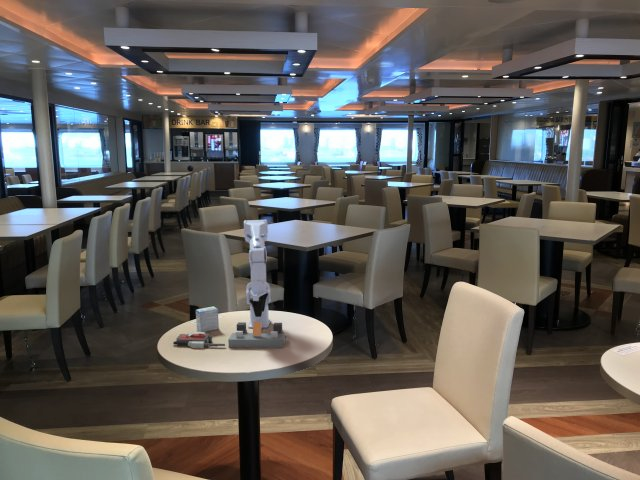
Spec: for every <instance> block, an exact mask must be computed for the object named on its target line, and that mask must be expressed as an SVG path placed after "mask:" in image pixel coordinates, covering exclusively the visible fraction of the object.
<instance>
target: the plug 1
mask: <svg viewBox="0 0 640 480" xmlns="http://www.w3.org/2000/svg"><path fill="white" fill-rule="evenodd" d="M236 331H243V333H248V329H247V322H246V321H244V322H241V321H239V322H237V324H236Z"/></svg>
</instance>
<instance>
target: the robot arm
mask: <svg viewBox="0 0 640 480" xmlns="http://www.w3.org/2000/svg"><path fill="white" fill-rule="evenodd" d="M268 226H269V225H268V220H267V219H254V220H252V219H251V220H250V219H249V220H247V219H245V220H244V221H243V234H244V240H245V242H246V243H248V244H249V250H248V261H249V268H250V282H249V283H247V285H246V286H245V288H246V291H245V293H246V304H248V305H249V312H250V313H249V315H250V317H249V318H250V320H249V321H250V323H249V325H248V326H247V327H248V328H249V329H250V328H251V329H253V322H262V329H267V328H269V326H270V324H271V321H272V320H271V319H269V304H270V303H271V301H272V300H271V299H272V298H271V297H272V296H271V295H272V293H271V286H270V284H269V282H267V263H268V262H267V260H268V256H267V255H268V254H267V248H266V246H265V245H266V244H265V242H267V240H268V233H269V231H268V230H269V229H268V228H269V227H268Z"/></svg>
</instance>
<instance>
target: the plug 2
mask: <svg viewBox="0 0 640 480" xmlns="http://www.w3.org/2000/svg"><path fill="white" fill-rule="evenodd" d="M272 326H273V327H272V331H278V333H283V322H273V324H272Z"/></svg>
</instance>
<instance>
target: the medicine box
mask: <svg viewBox="0 0 640 480" xmlns="http://www.w3.org/2000/svg"><path fill="white" fill-rule="evenodd" d="M195 318H196V319H195V320H196V321H195V322H196V330H197V332H205V333H206V332H209V331H215V330H219V329H220V325H219V309H218V308H217V307H215V306H209V307H203V308H198V309H197V308H196V309H195Z"/></svg>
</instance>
